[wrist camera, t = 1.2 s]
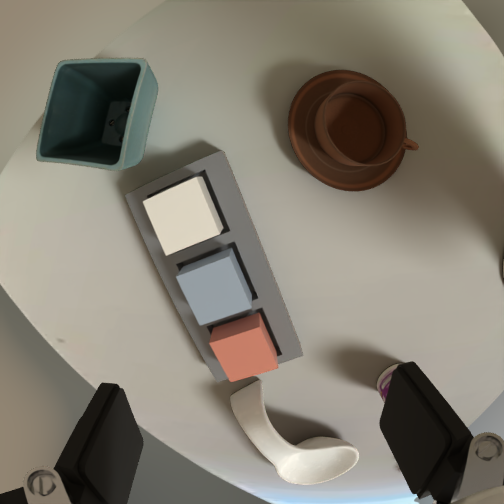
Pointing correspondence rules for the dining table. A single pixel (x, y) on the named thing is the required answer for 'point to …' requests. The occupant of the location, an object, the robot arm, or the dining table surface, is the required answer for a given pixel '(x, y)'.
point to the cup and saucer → (348, 130)
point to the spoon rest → (285, 454)
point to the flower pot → (98, 113)
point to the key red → (244, 348)
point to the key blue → (215, 287)
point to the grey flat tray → (232, 236)
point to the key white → (183, 215)
